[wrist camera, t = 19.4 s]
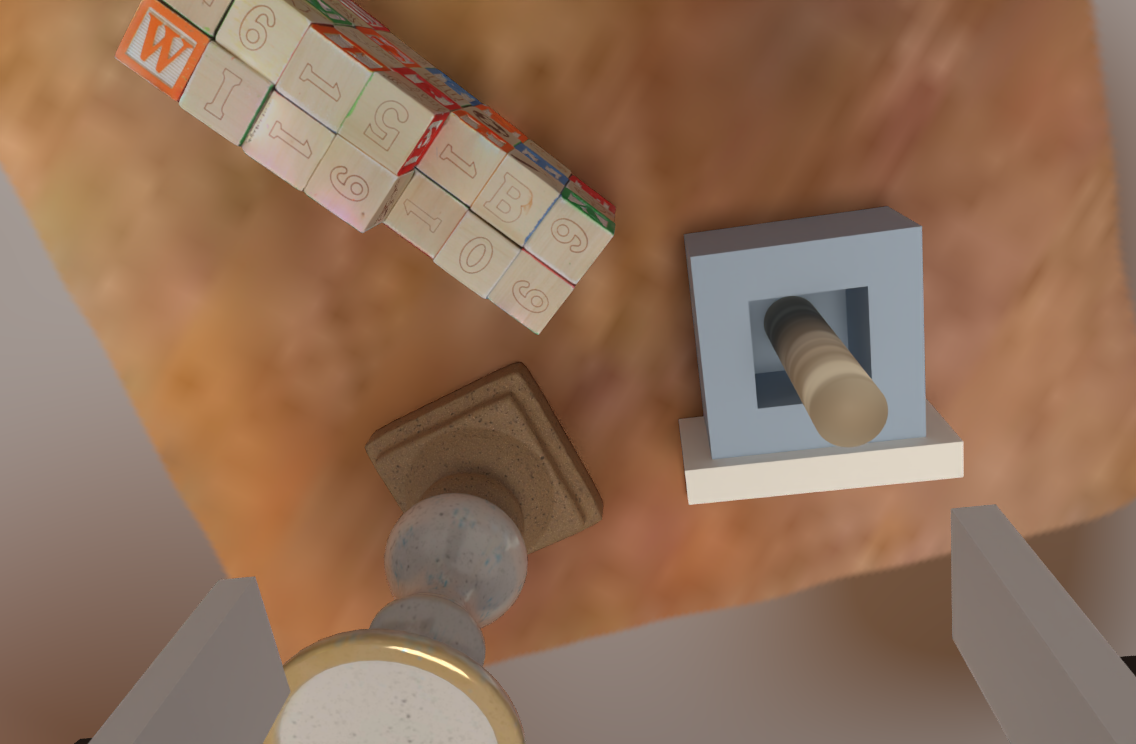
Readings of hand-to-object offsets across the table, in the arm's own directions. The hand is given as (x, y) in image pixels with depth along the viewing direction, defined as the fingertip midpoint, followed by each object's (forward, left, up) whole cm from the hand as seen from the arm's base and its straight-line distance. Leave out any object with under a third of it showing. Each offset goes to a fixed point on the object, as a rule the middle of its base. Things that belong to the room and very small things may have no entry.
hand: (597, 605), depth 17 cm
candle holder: (+13, -10, -35) cm, 39 cm away
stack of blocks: (-7, -10, -35) cm, 37 cm away
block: (+6, +9, -35) cm, 36 cm away
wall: (+13, +9, -35) cm, 38 cm away
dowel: (+6, +9, -34) cm, 35 cm away
